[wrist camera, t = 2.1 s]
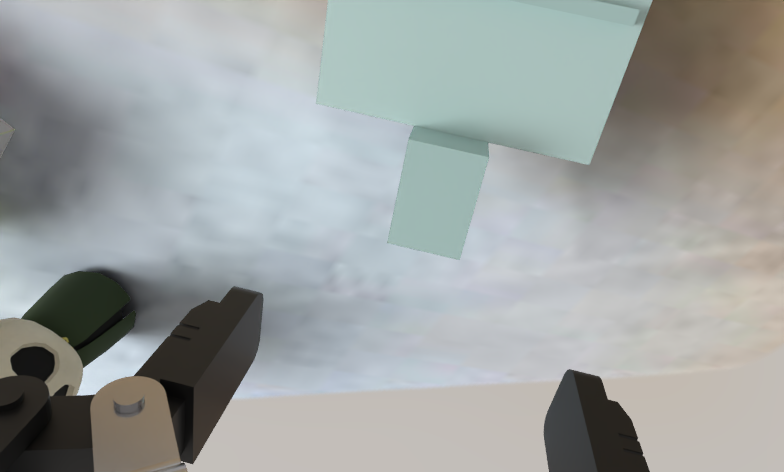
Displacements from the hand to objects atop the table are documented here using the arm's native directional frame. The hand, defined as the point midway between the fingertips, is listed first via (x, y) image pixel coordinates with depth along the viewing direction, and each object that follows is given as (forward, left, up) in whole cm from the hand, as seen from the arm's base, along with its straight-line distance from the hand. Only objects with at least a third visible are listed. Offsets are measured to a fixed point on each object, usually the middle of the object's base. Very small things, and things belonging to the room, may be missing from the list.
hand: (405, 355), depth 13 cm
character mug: (+18, -23, -20) cm, 35 cm away
